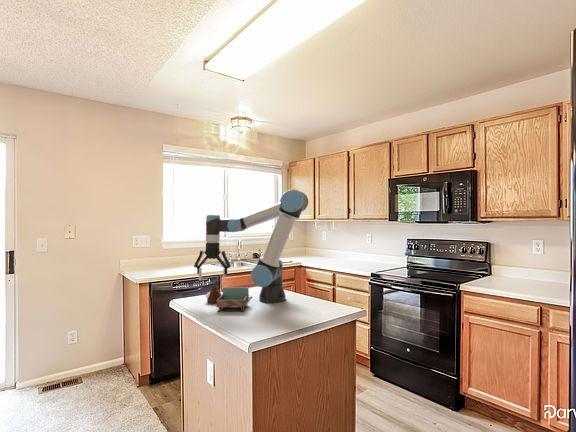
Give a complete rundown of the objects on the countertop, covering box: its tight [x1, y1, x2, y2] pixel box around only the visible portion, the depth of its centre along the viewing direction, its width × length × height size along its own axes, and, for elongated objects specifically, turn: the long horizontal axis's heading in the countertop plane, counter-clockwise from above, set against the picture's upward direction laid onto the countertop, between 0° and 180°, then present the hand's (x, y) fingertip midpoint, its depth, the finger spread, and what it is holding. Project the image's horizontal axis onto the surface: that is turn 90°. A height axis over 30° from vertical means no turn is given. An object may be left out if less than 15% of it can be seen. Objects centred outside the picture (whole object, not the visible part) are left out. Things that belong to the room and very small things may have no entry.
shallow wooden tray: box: [215, 287, 250, 310], centre depth 171 cm, size 14×14×9 cm
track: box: [217, 296, 253, 313], centre depth 180 cm, size 13×32×1 cm, turn 178°
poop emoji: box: [205, 285, 222, 305], centre depth 185 cm, size 10×8×9 cm
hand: (212, 280), depth 185 cm, fingers open, 13 cm apart
